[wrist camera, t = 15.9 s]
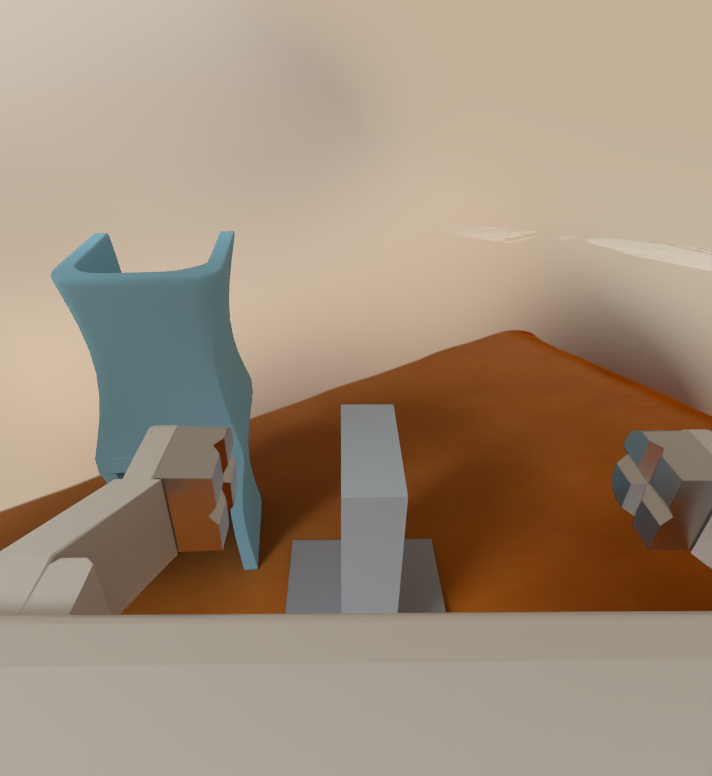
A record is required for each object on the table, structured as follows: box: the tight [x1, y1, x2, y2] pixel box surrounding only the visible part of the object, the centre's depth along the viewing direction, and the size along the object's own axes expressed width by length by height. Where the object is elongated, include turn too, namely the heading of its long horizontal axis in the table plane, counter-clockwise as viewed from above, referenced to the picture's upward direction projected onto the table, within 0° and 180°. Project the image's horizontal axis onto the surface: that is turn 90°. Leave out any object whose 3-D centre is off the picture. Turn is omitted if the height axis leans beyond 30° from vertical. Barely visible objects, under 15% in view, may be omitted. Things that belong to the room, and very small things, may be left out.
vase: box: [51, 231, 262, 570], centre depth 40 cm, size 10×10×25 cm
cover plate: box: [341, 404, 408, 613], centre depth 36 cm, size 4×9×15 cm, turn 1°
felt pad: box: [285, 539, 446, 614], centre depth 40 cm, size 12×12×1 cm
